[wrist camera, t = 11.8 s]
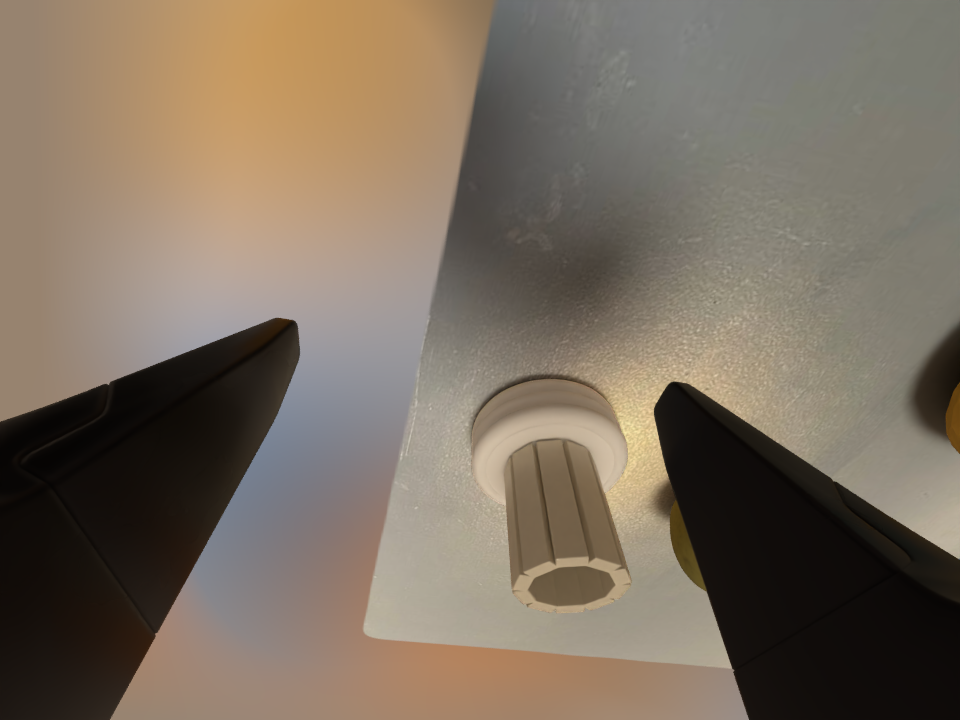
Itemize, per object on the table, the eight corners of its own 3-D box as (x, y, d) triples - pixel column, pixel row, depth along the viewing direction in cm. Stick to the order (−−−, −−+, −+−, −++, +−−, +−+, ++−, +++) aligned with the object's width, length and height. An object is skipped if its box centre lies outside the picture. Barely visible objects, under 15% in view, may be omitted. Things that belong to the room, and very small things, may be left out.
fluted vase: (496, 493, 26) (501, 609, 20) (517, 433, 23) (531, 552, 17) (576, 502, 27) (603, 617, 21) (608, 445, 23) (651, 563, 18)
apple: (688, 453, 29) (741, 547, 23) (776, 473, 31) (847, 566, 25) (635, 511, 33) (669, 602, 27) (715, 526, 35) (763, 615, 29)
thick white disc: (585, 482, 31) (596, 523, 28) (461, 467, 30) (459, 509, 27) (638, 386, 25) (658, 426, 22) (486, 364, 24) (488, 402, 21)
